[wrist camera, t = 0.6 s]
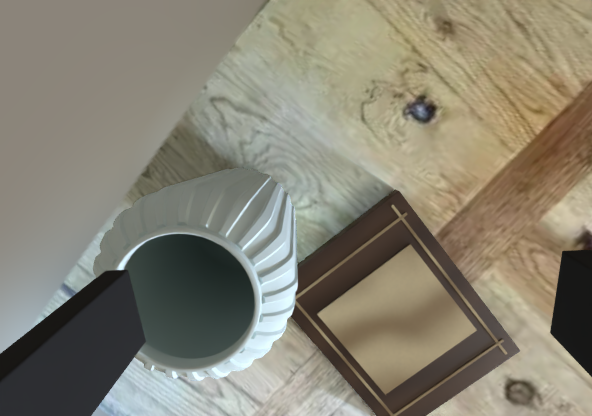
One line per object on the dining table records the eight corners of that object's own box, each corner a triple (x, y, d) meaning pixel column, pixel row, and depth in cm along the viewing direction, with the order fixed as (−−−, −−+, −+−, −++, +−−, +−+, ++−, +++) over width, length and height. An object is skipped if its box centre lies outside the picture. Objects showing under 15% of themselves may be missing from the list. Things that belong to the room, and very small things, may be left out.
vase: (219, 147, 38) (118, 146, 16) (313, 194, 39) (338, 253, 17) (177, 239, 40) (34, 351, 18) (269, 282, 41) (239, 438, 19)
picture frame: (269, 285, 41) (268, 291, 39) (394, 189, 39) (399, 191, 37) (391, 427, 44) (395, 438, 42) (512, 344, 42) (521, 352, 40)
